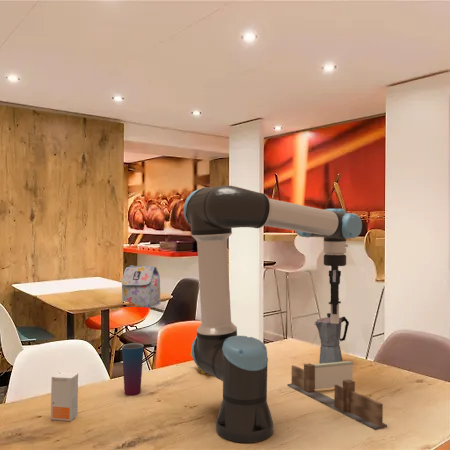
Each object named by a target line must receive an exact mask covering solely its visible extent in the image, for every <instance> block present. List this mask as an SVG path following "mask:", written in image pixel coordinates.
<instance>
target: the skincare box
mask: <svg viewBox="0 0 450 450" xmlns="http://www.w3.org/2000/svg"><path fill="white" fill-rule="evenodd" d="M50 389H51V390H50V393H51V394H50V396H51V397H50V420H54V421H65V422H72V421H73V420H74V419H75V418H77V416H78V411H79V409H78V408H79V407H78V401H79V400H78V399H79V395H78V394H79V373H76V372H75V373H74V372H62V371H61V372H57V373H55V374H54V375H52V376H51V388H50Z"/></svg>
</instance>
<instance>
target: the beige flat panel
mask: <svg viewBox="0 0 450 450" xmlns="http://www.w3.org/2000/svg"><path fill="white" fill-rule="evenodd" d="M312 364H313V365H315V379H314V390H315V391H317V390H323V389H333V388H334V389H335V385H339V386H341V387H343V380H348V379H349V380H352V381H354V379H353V378H354V377H353V375H354V374H353V373H354V372H353V371H354V366H353V365H354V362H353V361H352V360H345V361H343V362H333V363H322V364H320V363H312Z"/></svg>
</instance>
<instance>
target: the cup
mask: <svg viewBox="0 0 450 450" xmlns="http://www.w3.org/2000/svg"><path fill="white" fill-rule="evenodd" d="M144 347H145V346H144V344H142V343H137V342H135V343H134V342H132V343H126V344H122V345H121V353H122V370H123V372H122V373H123V388H124V389H123V390H124V391H123V392H124V395H126V396H138V395H140V394H141V391H142V387H141V386H142V375H143V374H142V373H143V359H144Z"/></svg>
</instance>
